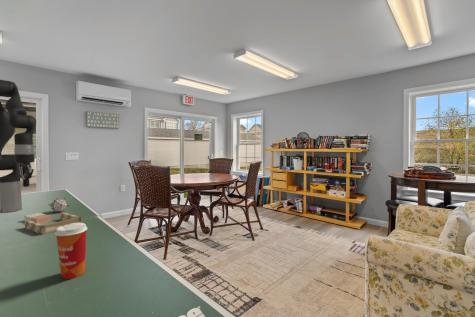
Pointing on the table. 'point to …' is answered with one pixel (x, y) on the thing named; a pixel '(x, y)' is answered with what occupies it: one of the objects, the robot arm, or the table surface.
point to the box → (52, 227)
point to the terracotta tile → (41, 219)
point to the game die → (58, 205)
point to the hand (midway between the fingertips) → (26, 186)
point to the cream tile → (28, 217)
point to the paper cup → (72, 249)
